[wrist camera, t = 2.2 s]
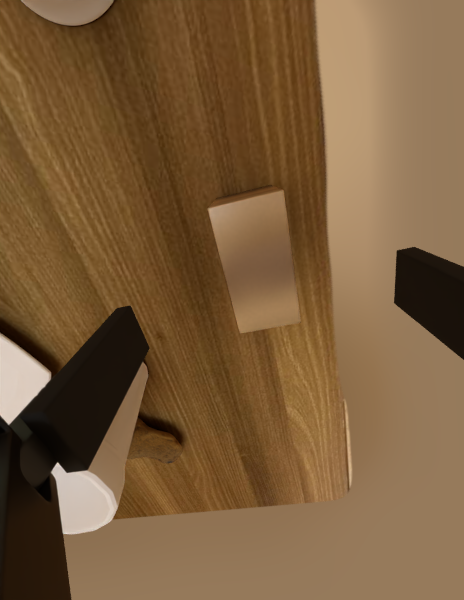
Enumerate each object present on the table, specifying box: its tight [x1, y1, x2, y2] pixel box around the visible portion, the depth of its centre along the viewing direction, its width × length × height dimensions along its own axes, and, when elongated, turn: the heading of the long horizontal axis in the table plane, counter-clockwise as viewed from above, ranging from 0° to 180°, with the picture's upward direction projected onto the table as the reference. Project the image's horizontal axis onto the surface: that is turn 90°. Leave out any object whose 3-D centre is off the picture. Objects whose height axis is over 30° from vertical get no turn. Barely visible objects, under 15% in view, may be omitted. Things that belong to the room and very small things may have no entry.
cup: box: [51, 362, 148, 534], centre depth 23 cm, size 10×10×13 cm
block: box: [208, 185, 301, 333], centre depth 20 cm, size 9×4×6 cm, turn 13°
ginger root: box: [127, 418, 182, 463], centre depth 33 cm, size 10×10×4 cm
